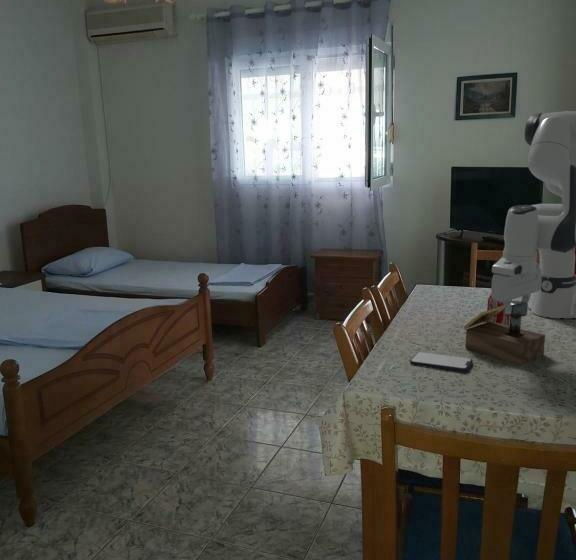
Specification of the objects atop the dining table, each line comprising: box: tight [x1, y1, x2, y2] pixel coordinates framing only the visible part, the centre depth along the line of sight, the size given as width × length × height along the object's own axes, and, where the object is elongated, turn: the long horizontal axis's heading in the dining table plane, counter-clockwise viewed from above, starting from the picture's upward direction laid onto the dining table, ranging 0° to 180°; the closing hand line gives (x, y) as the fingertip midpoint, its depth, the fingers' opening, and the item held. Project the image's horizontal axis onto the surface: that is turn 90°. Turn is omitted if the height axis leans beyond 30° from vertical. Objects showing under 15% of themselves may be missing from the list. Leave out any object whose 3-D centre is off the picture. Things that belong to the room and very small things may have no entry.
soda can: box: [486, 292, 510, 326], centre depth 187 cm, size 7×7×12 cm
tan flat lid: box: [463, 305, 505, 330], centre depth 172 cm, size 12×8×1 cm
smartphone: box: [409, 351, 474, 374], centre depth 161 cm, size 9×2×16 cm
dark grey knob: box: [506, 300, 529, 334], centre depth 163 cm, size 6×6×8 cm
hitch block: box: [465, 321, 546, 365], centre depth 168 cm, size 12×18×6 cm, turn 38°
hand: (515, 311), depth 163 cm, fingers closed on dark grey knob, 6 cm apart
